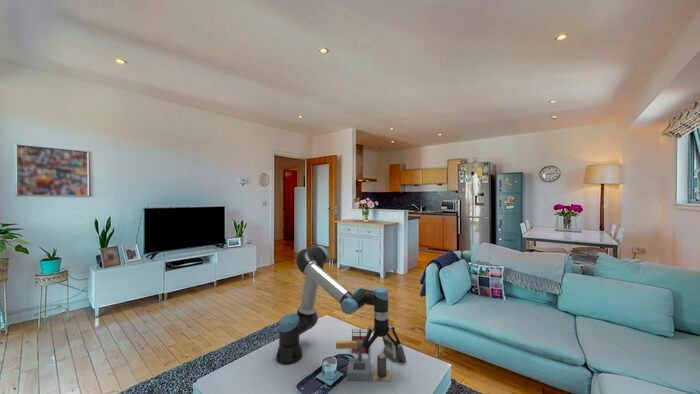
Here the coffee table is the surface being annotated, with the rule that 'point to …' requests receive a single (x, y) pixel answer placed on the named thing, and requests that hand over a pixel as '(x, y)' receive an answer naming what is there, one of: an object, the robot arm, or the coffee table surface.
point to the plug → (381, 365)
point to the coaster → (377, 378)
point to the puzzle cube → (359, 337)
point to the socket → (359, 364)
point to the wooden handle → (349, 344)
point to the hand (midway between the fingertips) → (381, 358)
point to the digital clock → (389, 351)
